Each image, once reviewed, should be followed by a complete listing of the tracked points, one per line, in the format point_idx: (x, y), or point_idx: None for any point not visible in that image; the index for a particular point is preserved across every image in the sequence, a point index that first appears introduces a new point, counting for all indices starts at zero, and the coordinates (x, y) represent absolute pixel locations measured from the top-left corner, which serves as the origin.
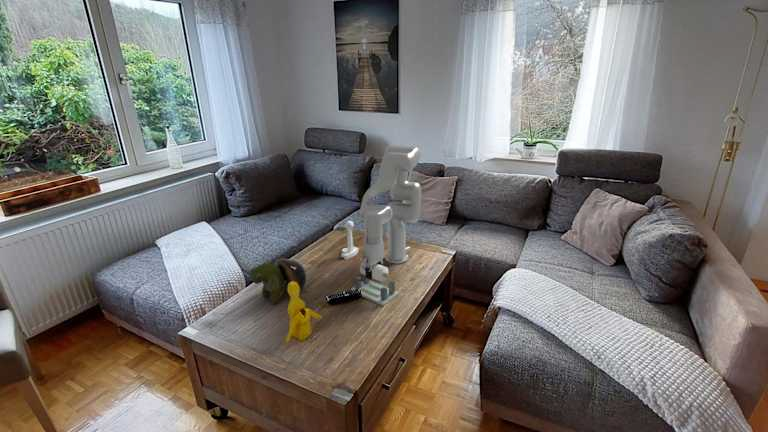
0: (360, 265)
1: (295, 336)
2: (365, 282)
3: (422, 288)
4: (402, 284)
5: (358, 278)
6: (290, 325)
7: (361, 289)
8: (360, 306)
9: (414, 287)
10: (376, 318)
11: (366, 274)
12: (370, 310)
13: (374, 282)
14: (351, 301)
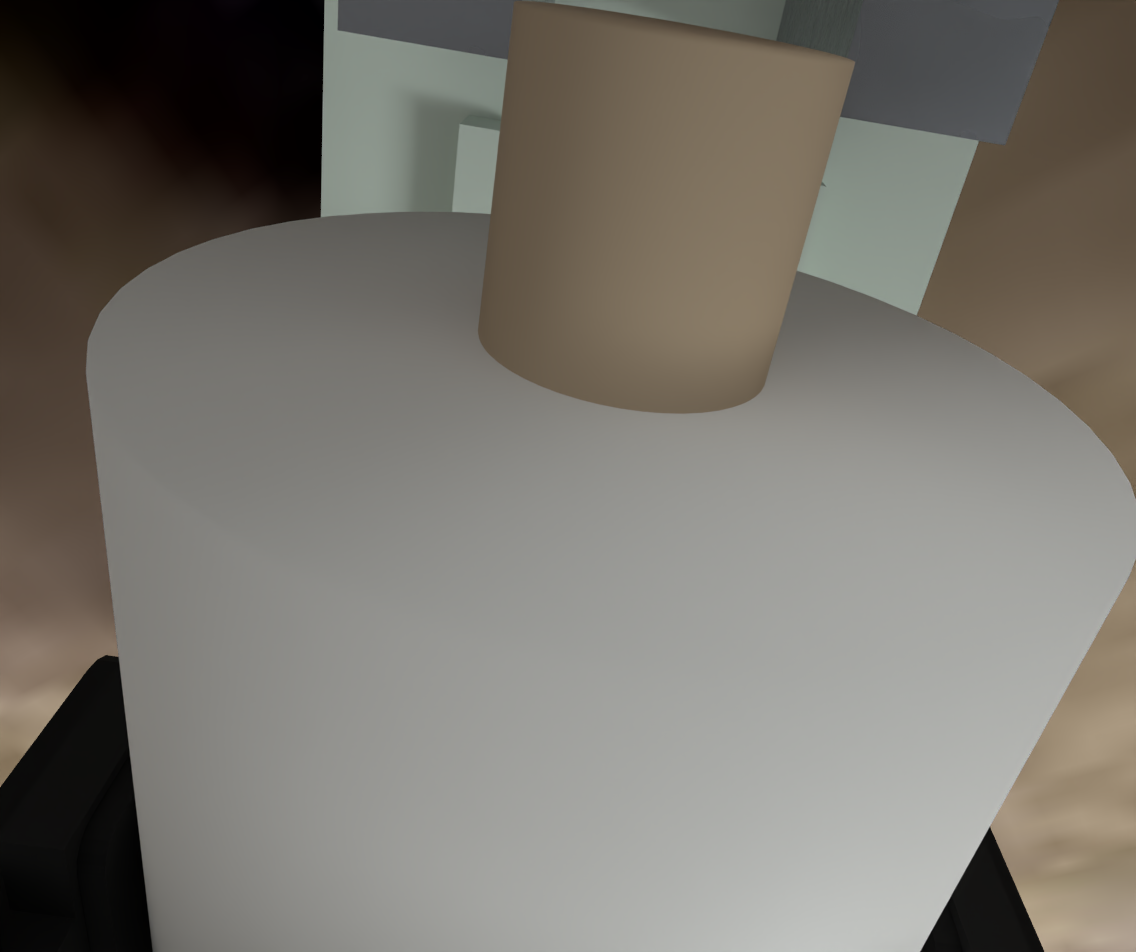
0: (526, 56)
1: None
2: (783, 35)
3: (1058, 938)
4: (1105, 688)
5: (402, 5)
6: None
7: (475, 90)
8: (45, 367)
9: (1055, 855)
10: (14, 712)
11: (45, 760)
12: (90, 566)
13: (937, 225)
14: (27, 95)
